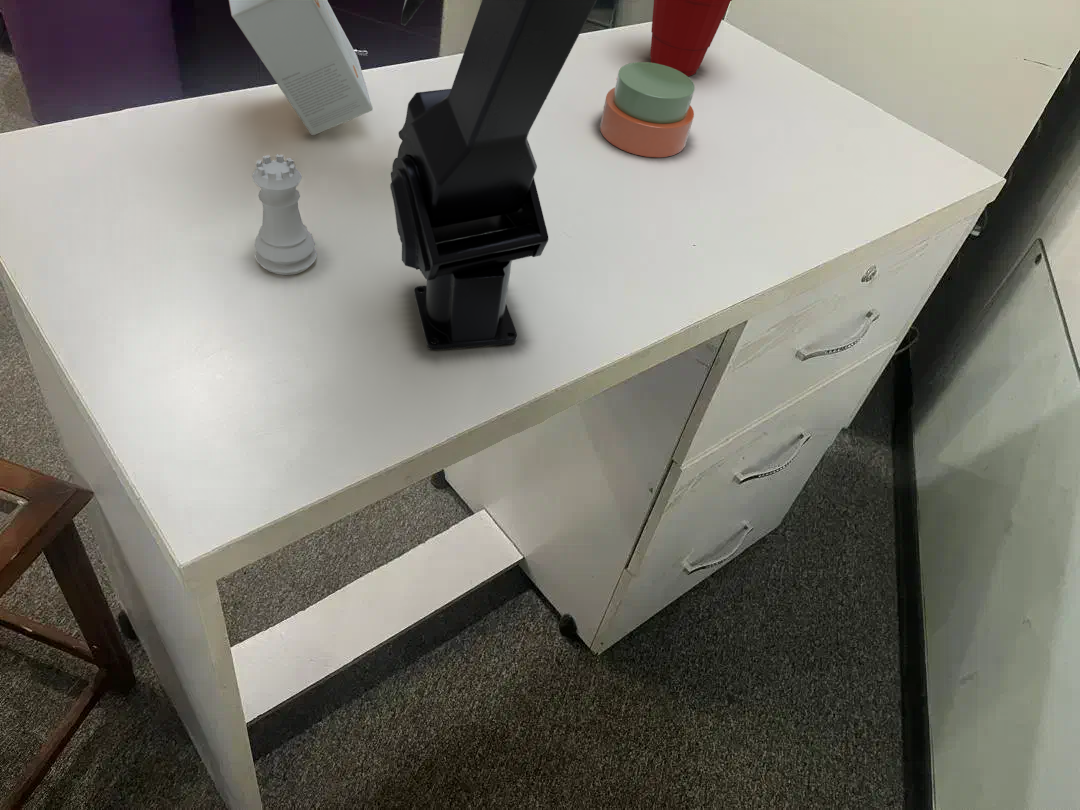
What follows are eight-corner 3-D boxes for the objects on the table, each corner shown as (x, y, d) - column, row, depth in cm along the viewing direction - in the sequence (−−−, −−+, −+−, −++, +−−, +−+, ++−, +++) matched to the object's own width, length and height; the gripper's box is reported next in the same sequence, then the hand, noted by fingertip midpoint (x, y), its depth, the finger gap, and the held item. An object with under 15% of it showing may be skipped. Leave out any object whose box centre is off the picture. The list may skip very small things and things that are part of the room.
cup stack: (699, 157, 79) (716, 102, 74) (616, 158, 76) (629, 101, 72) (666, 112, 84) (681, 59, 80) (588, 112, 82) (599, 57, 77)
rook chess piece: (303, 283, 57) (293, 188, 51) (245, 269, 57) (228, 172, 52) (326, 249, 60) (320, 155, 54) (271, 236, 60) (258, 141, 55)
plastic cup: (715, 54, 97) (747, -52, 88) (720, 93, 89) (756, -18, 81) (629, 38, 96) (653, -70, 88) (628, 76, 89) (653, -38, 80)
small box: (297, 81, 75) (218, -45, 63) (358, 56, 74) (290, -76, 63) (310, 138, 71) (229, 15, 59) (374, 112, 71) (305, -17, 59)
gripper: (523, -229, 53) (473, -24, 66) (237, -343, 49) (246, -100, 62) (506, -137, 48) (456, 65, 61) (186, -256, 44) (207, -11, 57)
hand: (344, 2), depth 61 cm, fingers open, 9 cm apart
